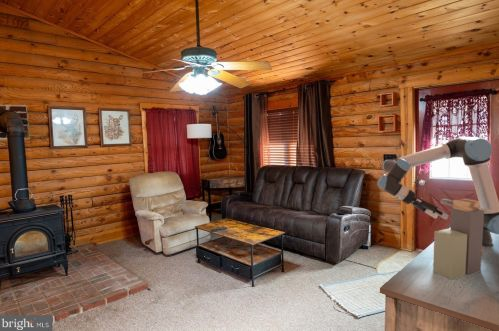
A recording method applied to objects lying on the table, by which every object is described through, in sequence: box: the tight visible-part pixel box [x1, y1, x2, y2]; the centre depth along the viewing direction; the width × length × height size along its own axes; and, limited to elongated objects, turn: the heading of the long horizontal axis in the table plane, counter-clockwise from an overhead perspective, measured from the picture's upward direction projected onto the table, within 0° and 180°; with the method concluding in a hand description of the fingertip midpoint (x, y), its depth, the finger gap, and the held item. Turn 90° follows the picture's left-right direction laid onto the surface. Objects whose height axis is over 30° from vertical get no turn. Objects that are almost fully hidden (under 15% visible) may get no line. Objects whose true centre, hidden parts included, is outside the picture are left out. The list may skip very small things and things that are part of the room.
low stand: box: [432, 228, 467, 280], centre depth 151 cm, size 9×10×20 cm
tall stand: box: [449, 207, 484, 276], centre depth 154 cm, size 9×10×30 cm
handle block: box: [439, 198, 479, 212], centre depth 157 cm, size 8×16×4 cm, turn 20°
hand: (442, 217), depth 169 cm, fingers open, 13 cm apart
